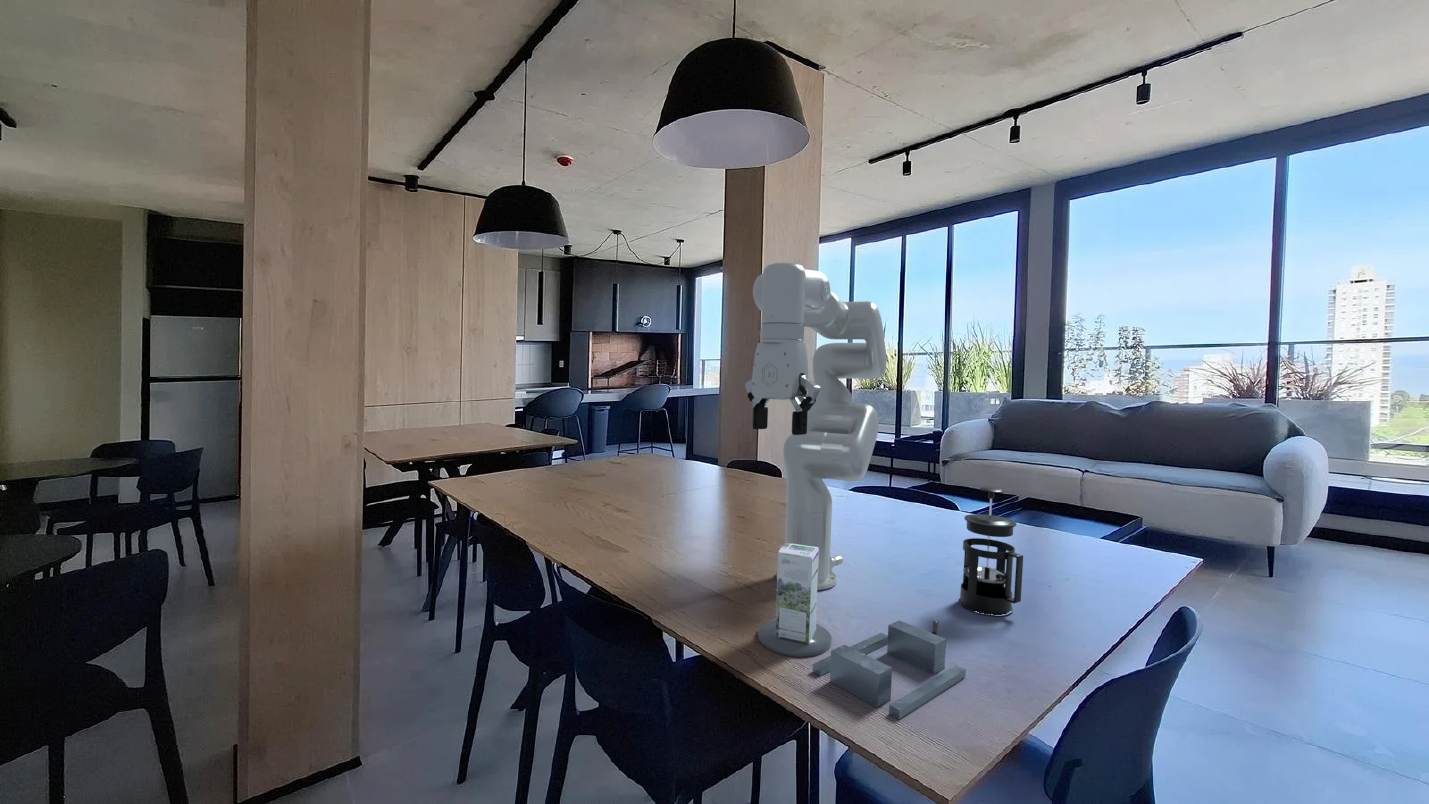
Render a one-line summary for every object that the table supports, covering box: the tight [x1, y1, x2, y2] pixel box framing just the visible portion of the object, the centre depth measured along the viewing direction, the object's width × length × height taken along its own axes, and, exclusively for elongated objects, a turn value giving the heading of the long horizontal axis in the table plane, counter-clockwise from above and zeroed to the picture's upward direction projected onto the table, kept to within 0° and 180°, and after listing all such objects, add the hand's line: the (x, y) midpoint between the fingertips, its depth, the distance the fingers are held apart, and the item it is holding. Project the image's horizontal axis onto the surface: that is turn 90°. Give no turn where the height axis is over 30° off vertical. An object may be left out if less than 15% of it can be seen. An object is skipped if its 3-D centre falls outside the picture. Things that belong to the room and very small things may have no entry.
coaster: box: [757, 619, 832, 658], centre depth 95 cm, size 12×12×1 cm
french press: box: [958, 486, 1024, 615], centre depth 110 cm, size 12×9×23 cm
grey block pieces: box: [812, 619, 967, 720], centre depth 86 cm, size 21×14×5 cm
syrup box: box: [775, 543, 819, 644], centre depth 95 cm, size 6×6×14 cm
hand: (778, 431), depth 103 cm, fingers open, 9 cm apart
